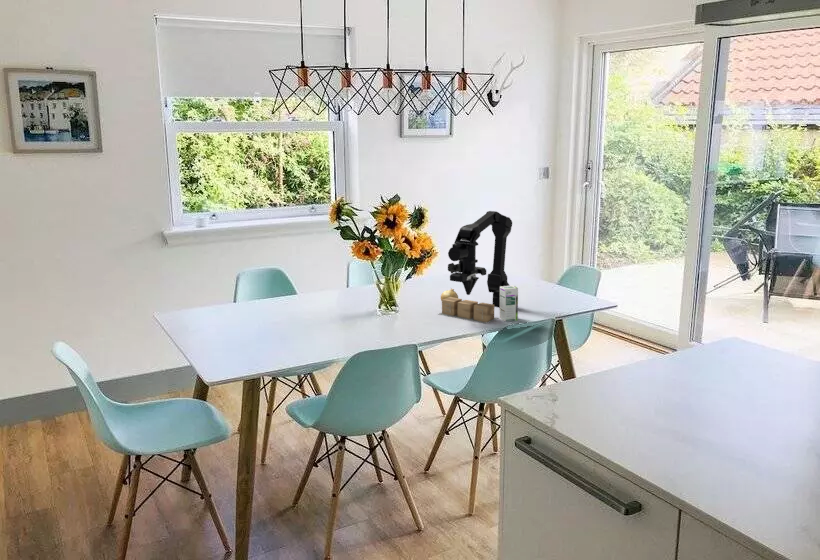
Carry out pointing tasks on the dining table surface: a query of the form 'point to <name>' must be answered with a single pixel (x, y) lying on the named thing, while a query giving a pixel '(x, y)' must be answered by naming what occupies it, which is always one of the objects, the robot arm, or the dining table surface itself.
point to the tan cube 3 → (450, 306)
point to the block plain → (466, 309)
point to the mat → (466, 318)
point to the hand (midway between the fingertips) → (468, 294)
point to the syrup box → (509, 303)
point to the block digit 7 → (484, 312)
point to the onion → (449, 294)
